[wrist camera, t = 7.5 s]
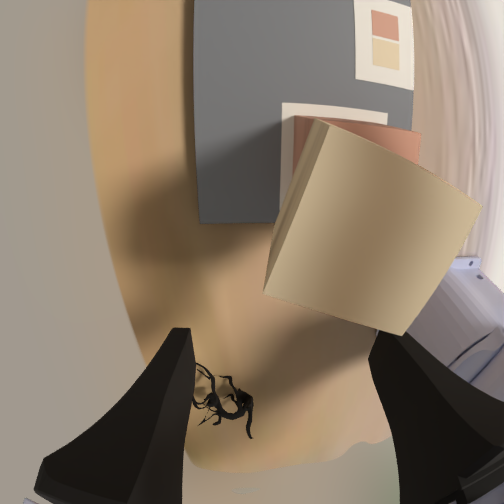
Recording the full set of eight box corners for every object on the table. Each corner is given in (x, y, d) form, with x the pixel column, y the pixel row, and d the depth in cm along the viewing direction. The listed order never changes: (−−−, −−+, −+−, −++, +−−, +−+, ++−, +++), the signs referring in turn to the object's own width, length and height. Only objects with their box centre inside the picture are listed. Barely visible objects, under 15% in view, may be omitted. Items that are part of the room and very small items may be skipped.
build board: (404, -2, 11) (410, -5, 11) (393, 219, 19) (398, 224, 18) (197, -25, 11) (195, -31, 10) (201, 218, 19) (199, 224, 18)
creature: (189, 397, 30) (260, 410, 28) (173, 435, 25) (250, 453, 24) (176, 350, 26) (261, 364, 25) (153, 394, 21) (248, 415, 20)
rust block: (376, 122, 15) (421, 133, 11) (368, 201, 18) (405, 235, 13) (294, 115, 15) (315, 119, 11) (291, 199, 17) (308, 234, 13)
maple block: (420, 166, 11) (482, 206, 6) (373, 262, 13) (401, 336, 9) (314, 117, 11) (330, 125, 6) (274, 226, 13) (262, 293, 9)
